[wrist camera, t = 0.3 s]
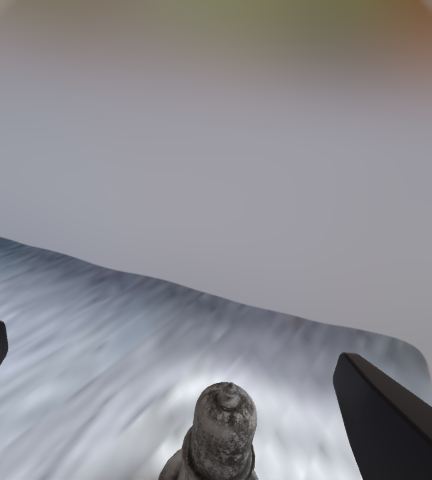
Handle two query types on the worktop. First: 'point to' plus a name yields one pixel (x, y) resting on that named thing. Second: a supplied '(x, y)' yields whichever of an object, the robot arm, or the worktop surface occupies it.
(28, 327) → the worktop surface
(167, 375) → the worktop surface
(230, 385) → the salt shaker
